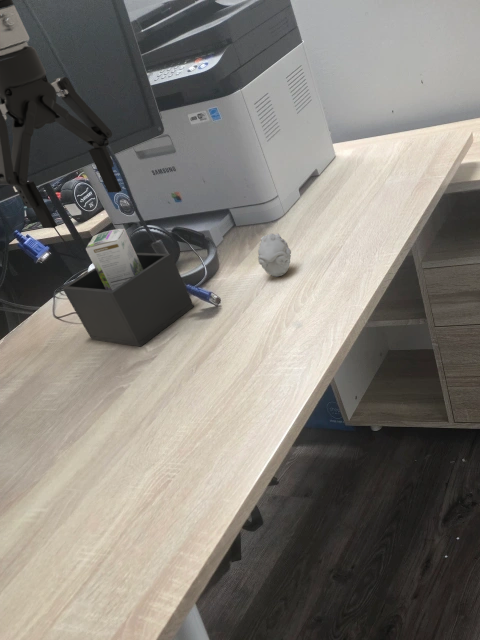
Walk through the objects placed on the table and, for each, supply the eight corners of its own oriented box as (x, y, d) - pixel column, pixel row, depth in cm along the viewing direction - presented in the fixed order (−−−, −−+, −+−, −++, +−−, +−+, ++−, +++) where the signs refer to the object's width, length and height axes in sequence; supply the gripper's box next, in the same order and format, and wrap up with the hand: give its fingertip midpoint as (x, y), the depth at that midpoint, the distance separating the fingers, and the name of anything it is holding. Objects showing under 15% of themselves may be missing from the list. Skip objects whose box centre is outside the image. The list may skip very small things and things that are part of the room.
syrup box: (130, 313, 119) (90, 235, 109) (161, 305, 119) (123, 226, 109) (125, 328, 115) (82, 247, 105) (156, 319, 114) (117, 238, 105)
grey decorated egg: (299, 263, 121) (288, 225, 116) (292, 280, 116) (279, 241, 111) (269, 268, 122) (256, 231, 118) (260, 285, 117) (247, 247, 113)
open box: (91, 339, 116) (61, 288, 110) (144, 301, 124) (120, 251, 117) (140, 346, 109) (112, 292, 103) (194, 306, 117) (171, 253, 110)
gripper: (-61, 75, 80) (34, 243, 95) (90, 24, 94) (154, 177, 108) (-90, 81, 84) (6, 242, 98) (59, 31, 98) (125, 178, 112)
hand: (83, 208), depth 103 cm, fingers open, 13 cm apart
